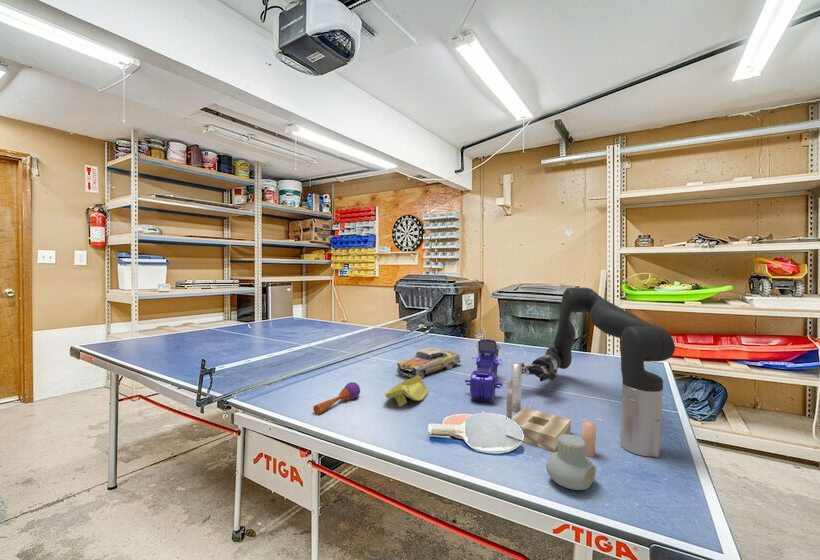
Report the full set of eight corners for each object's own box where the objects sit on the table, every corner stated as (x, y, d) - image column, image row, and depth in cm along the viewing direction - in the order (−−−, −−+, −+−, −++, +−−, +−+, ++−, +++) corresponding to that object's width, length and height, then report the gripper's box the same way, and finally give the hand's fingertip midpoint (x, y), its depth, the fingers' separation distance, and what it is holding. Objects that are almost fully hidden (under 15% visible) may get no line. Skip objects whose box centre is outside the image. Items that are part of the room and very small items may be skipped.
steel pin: (522, 410, 124) (523, 363, 123) (518, 413, 121) (519, 365, 120) (513, 407, 126) (514, 361, 125) (509, 410, 123) (510, 363, 123)
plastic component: (399, 382, 144) (421, 374, 141) (406, 400, 143) (429, 392, 140) (380, 397, 125) (405, 387, 122) (388, 417, 124) (414, 408, 121)
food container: (471, 362, 180) (471, 342, 180) (477, 360, 185) (478, 340, 184) (493, 367, 172) (493, 346, 171) (499, 365, 176) (500, 344, 176)
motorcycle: (472, 373, 164) (472, 335, 163) (503, 376, 160) (504, 337, 159) (461, 403, 130) (462, 354, 129) (501, 407, 126) (502, 357, 125)
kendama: (309, 400, 121) (349, 379, 138) (312, 418, 121) (353, 395, 138) (321, 401, 118) (361, 379, 135) (324, 419, 118) (364, 395, 135)
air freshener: (563, 465, 91) (564, 426, 90) (598, 480, 85) (599, 438, 84) (541, 483, 83) (543, 441, 83) (578, 501, 77) (580, 455, 77)
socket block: (570, 432, 108) (572, 379, 107) (554, 452, 97) (556, 392, 96) (524, 419, 117) (525, 370, 116) (505, 435, 106) (506, 381, 105)
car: (392, 376, 160) (393, 353, 159) (442, 360, 184) (443, 341, 183) (413, 383, 151) (413, 359, 150) (463, 366, 175) (463, 345, 175)
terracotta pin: (596, 453, 97) (597, 423, 96) (593, 458, 94) (594, 427, 94) (583, 449, 99) (584, 420, 98) (580, 453, 96) (581, 424, 96)
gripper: (527, 353, 148) (510, 362, 136) (563, 360, 139) (549, 369, 127) (526, 371, 149) (509, 382, 136) (563, 379, 140) (548, 391, 127)
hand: (528, 376), depth 132 cm, fingers open, 8 cm apart
